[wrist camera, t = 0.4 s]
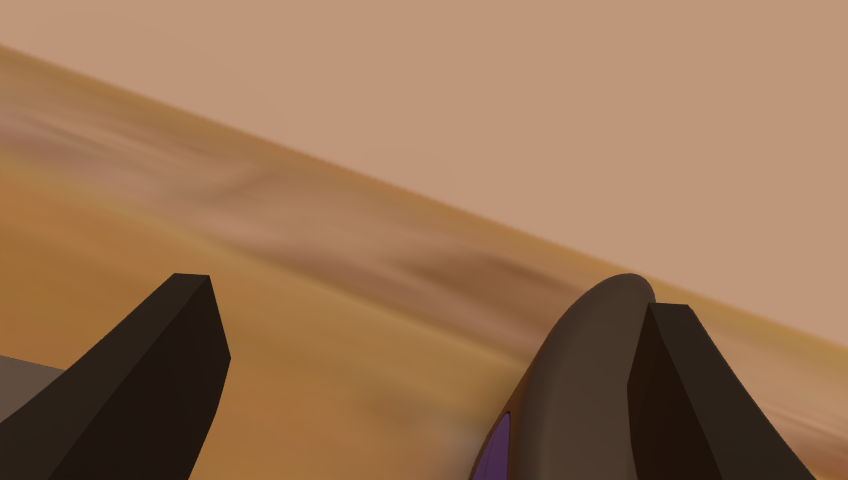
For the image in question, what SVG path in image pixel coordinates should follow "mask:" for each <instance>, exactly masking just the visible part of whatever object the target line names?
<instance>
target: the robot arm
mask: <svg viewBox="0 0 848 480" xmlns="http://www.w3.org/2000/svg"><path fill="white" fill-rule="evenodd" d="M230 360H231V356H230V352H229V348H228V344H227V341H226V337H225V333H224V329H223V325H222V322H221V318H220V314H219V310H218V306H217V303H216V299H215V295H214V291H213V287H212V284H211V280H210V276H209V275H196V274H180V273H174V274H173V275H172V276H171V277H169V278H168V279H167V280H166V281H165V282H164V283H163V284H162V285H161V286H159V287H158V288H157V289H156V290H155V291H154V292H153V293H152V294H151V295H150V296H148V297H147V298H146V299H145V300H144V301H143V302H142V303H141V304H140V305H139V306H138V307H137V308H135V309H134V310H133V311H132V312H131V313H130V314H129V315H128V316H127V317H126V318H125V319H124V320H122V321H121V322H120V323H119V324H118V325H117V326H116V327H115V328H114V329H113V330H112V331H110V332H109V333H108V334H107V335H106V336H105V337H104V338H103V339H101V340H100V341H99V342H98V343H97V344H96V345H95V346H94V347H92V348H91V349H90V350H89V351H88V352H87V353H86V354H85V355H83V356H82V357H81V358H80V359H79V360H78V361H77V362H76V363H74V364H73V365H72V366H71V367H70V368H68V369H67V370H66V371H65V372H64V373H62V374H61V375H60V376H59V377H57V378H56V379H55V380H54V381H53V382H51V383H50V384H49V385H48V386H47V387H45V388H44V389H43V390H42V391H40V392H39V393H38V394H37V395H36V396H34V397H33V398H32V399H31V400H29V401H28V402H27V403H26V404H25V405H23V406H22V407H21V408H19V409H18V410H17V411H15V412H14V413H13V414H12V415H10V416H9V417H7V418H6V419H5V420H3V421H2V422H1V423H0V480H188V479H189V477H190V474H191V472H192V470H193V467H194V465H195V463H196V460H197V458H198V455H199V453H200V451H201V448H202V446H203V443H204V441H205V439H206V436H207V434H208V431H209V429H210V427H211V424H212V422H213V419H214V417H215V414H216V411H217V408H218V404H219V401H220V397H221V394H222V391H223V387H224V383H225V379H226V376H227V372H228V368H229V364H230ZM627 400H628V414H629V427H630V439H631V447H632V453H633V458H634V463H635V468H636V474H637V479H638V480H816V478H815V477H814V476H813V475H812V474H811V473H810V472H809V470H808V469H807V468H806V467H805V465H804V464H803V463H802V462H801V461H800V459H799V458H798V457H797V456H796V455H795V453H794V452H793V451H792V450H791V448H790V447H789V446H788V445H787V444H786V442H785V441H784V440H783V438H782V437H781V436H780V435H779V433H778V432H777V431H776V429H775V428H774V427H773V426H772V424H771V423H770V422H769V420H768V419H767V418H766V416H765V415H764V414H763V412H762V411H761V410H760V408H759V407H758V405H757V404H756V403H755V401H754V400H753V399H752V397H751V396H750V395H749V393H748V392H747V391H746V389H745V388H744V386H743V385H742V384H741V382H740V381H739V379H738V378H737V377H736V375H735V374H734V372H733V371H732V369H731V368H730V366H729V365H728V363H727V362H726V360H725V359H724V358H723V356H722V355H721V353H720V352H719V350H718V349H717V347H716V346H715V344H714V343H713V341H712V339H711V338H710V336H709V335H708V333H707V332H706V330H705V329H704V327H703V326H702V324H701V322H700V321H699V319H698V318H697V316H696V315H695V313H694V311H693V310H692V309H691V308H690V307H689V306H688V305H684V304H668V303H651V302H648V306H647V310H646V313H645V317H644V321H643V325H642V329H641V333H640V336H639V340H638V344H637V348H636V352H635V356H634V360H633V363H632V367H631V371H630V375H629V379H628V383H627Z"/></svg>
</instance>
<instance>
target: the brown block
mask: <svg viewBox="0 0 848 480" xmlns="http://www.w3.org/2000/svg"><path fill="white" fill-rule="evenodd" d="M65 371H66V370H61V369H57V368H53V367H48V366H44V365H40V364H35V363H31V362H27V361H22V360H18V359H14V358H9V357H5V356H1V355H0V423H1V422H2V421H3V420H5V419H6V418H7V417H9V416H10V415H12V414H13V413H14V412H15V411H17V410H18V409H19V408H21V407H22V406H23V405H25V404H26V403H27V402H28V401H29V400H31V399H32V398H33V397H34V396H36V395H37V394H38V393H39V392H40V391H42V390H43V389H44V388H45V387H47V386H48V385H49V384H50V383H51V382H53V381H54V380H55V379H56V378H57V377H59V376H60V375H61V374H62V373H64V372H65Z"/></svg>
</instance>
